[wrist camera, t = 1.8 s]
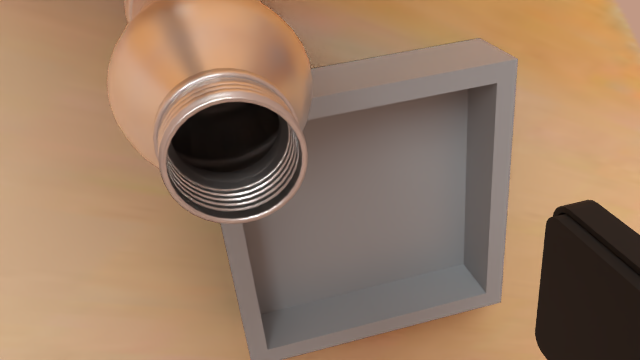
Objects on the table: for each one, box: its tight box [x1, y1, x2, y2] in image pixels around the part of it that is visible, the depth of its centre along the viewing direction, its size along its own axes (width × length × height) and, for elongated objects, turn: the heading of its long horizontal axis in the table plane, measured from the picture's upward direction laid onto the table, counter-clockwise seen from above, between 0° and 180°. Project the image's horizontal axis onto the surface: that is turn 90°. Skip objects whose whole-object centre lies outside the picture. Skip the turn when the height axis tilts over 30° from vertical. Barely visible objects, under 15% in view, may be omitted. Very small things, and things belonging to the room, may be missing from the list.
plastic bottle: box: [107, 0, 313, 224], centre depth 23 cm, size 6×7×20 cm
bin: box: [220, 38, 518, 360], centre depth 38 cm, size 18×18×4 cm
